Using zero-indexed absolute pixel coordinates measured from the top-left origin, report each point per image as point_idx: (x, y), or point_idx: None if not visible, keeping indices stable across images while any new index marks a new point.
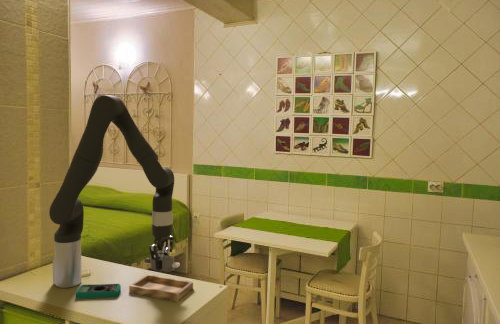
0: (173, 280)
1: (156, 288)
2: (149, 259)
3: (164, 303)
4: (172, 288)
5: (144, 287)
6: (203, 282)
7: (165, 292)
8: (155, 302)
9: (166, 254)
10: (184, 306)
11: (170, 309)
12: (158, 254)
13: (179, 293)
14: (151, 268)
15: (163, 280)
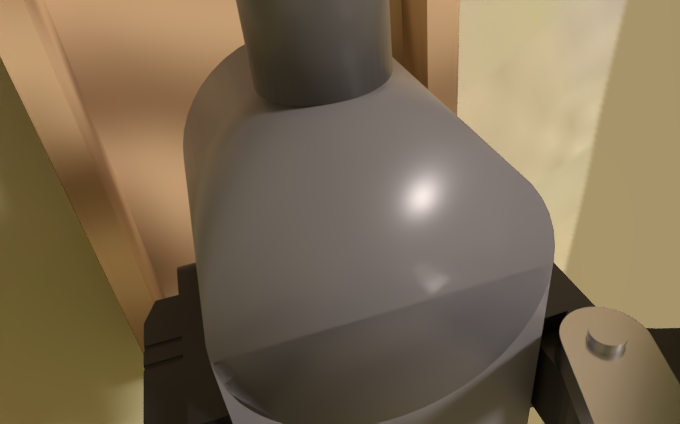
0: None
1: (233, 38)
2: (287, 68)
3: (60, 297)
4: None
5: (22, 18)
6: (557, 246)
7: (121, 302)
8: (5, 232)
9: (545, 415)
10: (141, 409)
11: (23, 389)
12: (533, 250)
13: None
14: (184, 136)
15: (413, 6)
